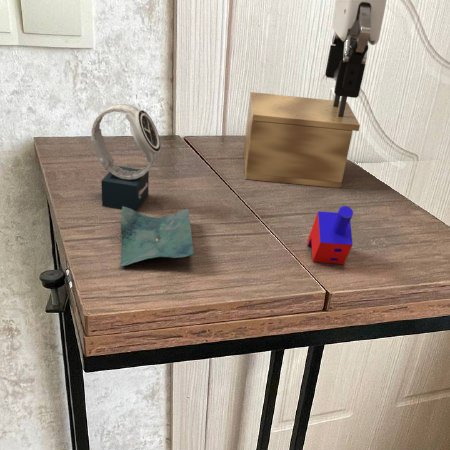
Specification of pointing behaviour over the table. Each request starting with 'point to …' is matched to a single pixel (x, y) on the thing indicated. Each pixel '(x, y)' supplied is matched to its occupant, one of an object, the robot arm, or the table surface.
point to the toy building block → (331, 236)
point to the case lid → (303, 111)
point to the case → (295, 153)
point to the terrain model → (154, 236)
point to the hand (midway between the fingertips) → (340, 86)
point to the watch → (122, 176)
